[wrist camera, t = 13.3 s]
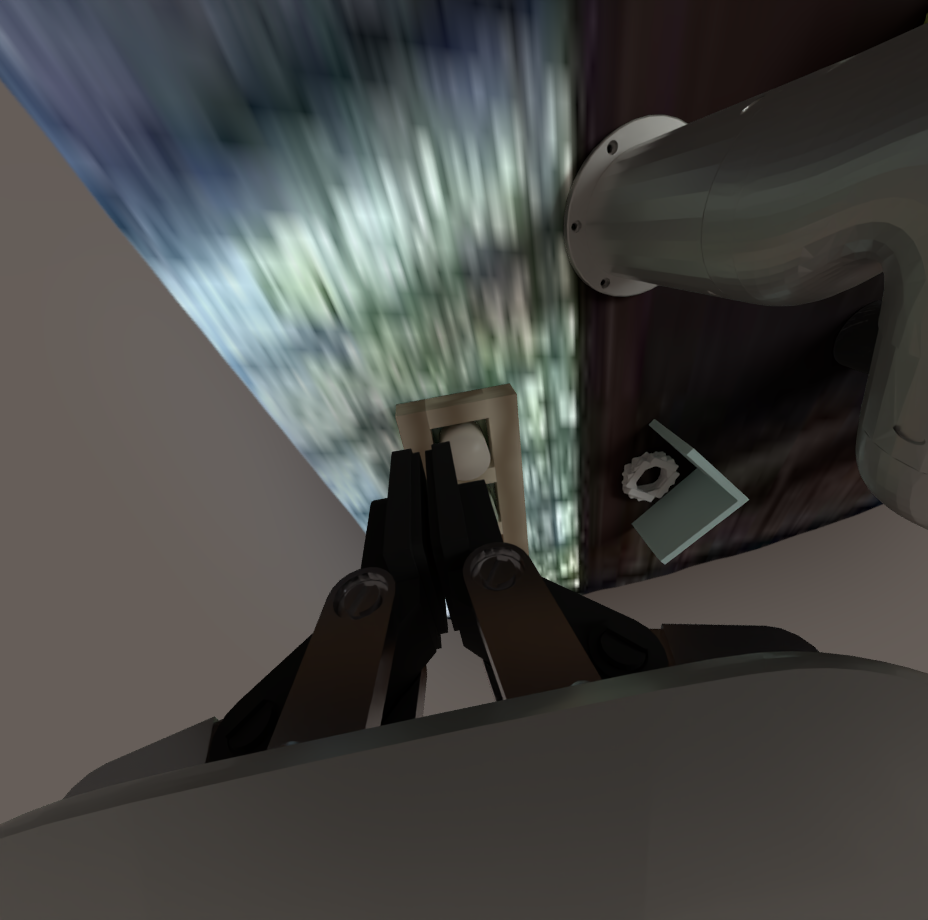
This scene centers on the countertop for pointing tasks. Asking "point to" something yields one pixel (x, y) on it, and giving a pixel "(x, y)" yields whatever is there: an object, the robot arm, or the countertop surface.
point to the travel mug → (858, 339)
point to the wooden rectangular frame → (502, 439)
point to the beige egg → (467, 449)
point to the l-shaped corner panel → (679, 498)
